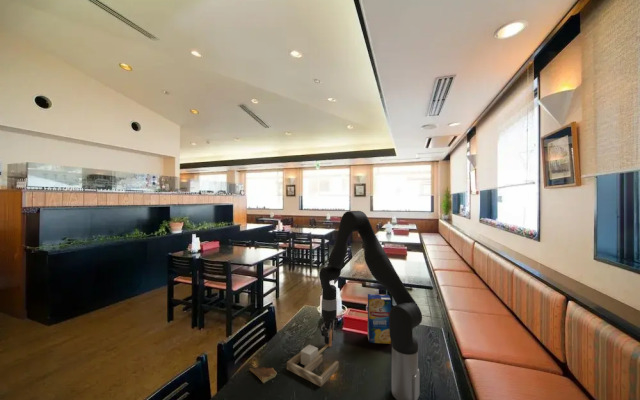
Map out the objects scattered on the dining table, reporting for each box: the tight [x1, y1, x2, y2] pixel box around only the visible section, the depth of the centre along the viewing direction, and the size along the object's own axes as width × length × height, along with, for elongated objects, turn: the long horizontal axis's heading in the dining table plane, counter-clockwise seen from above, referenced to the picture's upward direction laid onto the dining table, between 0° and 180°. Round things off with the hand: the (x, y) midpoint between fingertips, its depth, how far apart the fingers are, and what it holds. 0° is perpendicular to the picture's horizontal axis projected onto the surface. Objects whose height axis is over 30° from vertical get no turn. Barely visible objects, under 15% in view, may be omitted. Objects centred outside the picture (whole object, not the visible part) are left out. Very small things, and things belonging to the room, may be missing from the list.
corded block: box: [300, 328, 333, 367], centre depth 117 cm, size 5×20×8 cm, turn 146°
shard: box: [249, 366, 277, 384], centre depth 104 cm, size 11×8×2 cm
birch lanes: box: [286, 351, 340, 388], centre depth 106 cm, size 18×13×3 cm
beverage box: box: [367, 293, 392, 345], centre depth 130 cm, size 7×11×22 cm, turn 85°
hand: (328, 341), depth 124 cm, fingers closed on corded block, 3 cm apart
